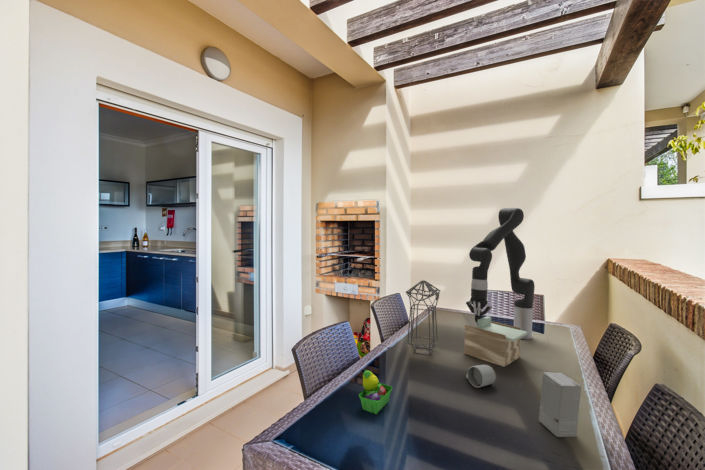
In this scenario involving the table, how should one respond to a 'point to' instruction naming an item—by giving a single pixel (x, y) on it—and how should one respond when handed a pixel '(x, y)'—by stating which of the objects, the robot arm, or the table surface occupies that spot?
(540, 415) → the skincare box
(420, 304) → the geometric lantern
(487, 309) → the robot arm
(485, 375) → the ceramic mug
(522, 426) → the table surface
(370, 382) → the fruit basket
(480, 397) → the table surface
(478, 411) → the table surface
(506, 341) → the birch box
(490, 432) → the table surface
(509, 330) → the cover plate
